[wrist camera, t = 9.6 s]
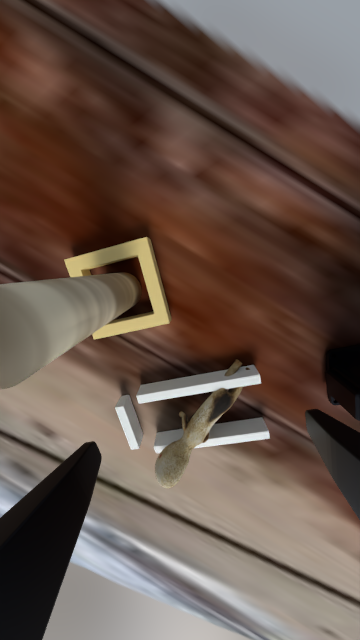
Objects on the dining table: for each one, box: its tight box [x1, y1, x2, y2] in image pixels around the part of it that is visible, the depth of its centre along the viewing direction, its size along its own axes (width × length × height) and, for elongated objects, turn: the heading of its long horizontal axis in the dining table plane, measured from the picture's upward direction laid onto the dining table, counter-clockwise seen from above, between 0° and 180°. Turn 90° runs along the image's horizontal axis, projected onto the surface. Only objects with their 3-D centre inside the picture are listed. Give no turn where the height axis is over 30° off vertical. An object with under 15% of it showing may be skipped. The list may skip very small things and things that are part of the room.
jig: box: [64, 237, 270, 453], centre depth 20 cm, size 16×23×2 cm
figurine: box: [155, 359, 250, 488], centre depth 21 cm, size 4×4×15 cm
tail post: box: [0, 272, 142, 389], centre depth 13 cm, size 4×4×14 cm
